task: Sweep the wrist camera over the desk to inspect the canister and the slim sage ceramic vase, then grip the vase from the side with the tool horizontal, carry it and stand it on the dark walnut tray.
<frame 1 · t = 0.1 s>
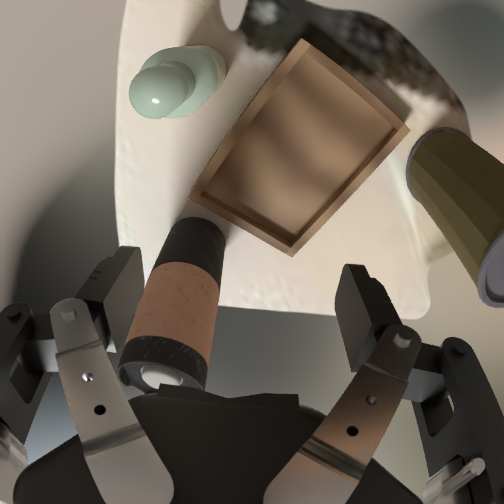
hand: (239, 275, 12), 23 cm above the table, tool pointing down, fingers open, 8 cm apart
walnut tray: (296, 153, 32), on the table
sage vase: (199, 69, 27), on the table
travel mug: (197, 240, 40), on the table
canister: (443, 168, 32), on the table
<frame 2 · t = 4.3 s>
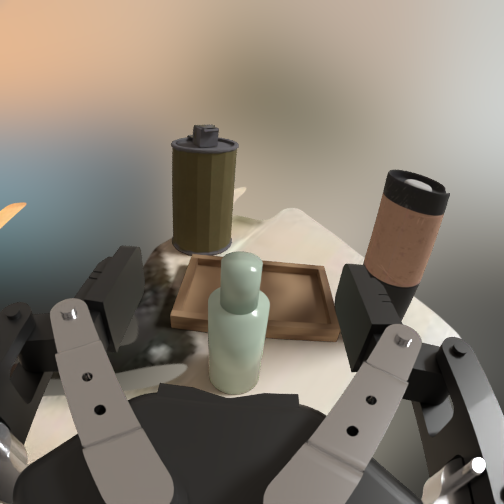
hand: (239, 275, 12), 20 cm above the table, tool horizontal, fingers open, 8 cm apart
walnut tray: (256, 300, 43), on the table
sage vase: (233, 374, 32), on the table
travel mug: (372, 322, 41), on the table
canister: (201, 241, 56), on the table
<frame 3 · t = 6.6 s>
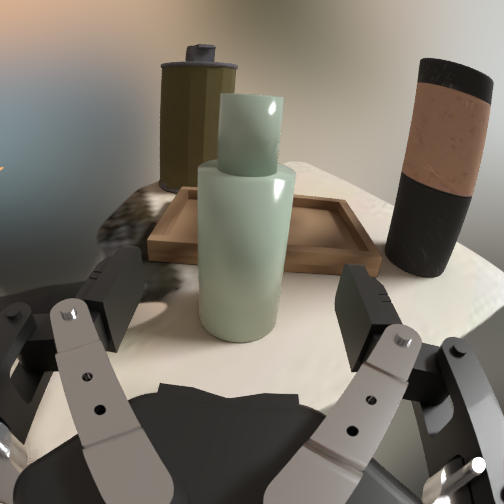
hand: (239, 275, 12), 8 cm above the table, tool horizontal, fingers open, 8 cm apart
walnut tray: (264, 232, 33), on the table
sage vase: (238, 315, 22), on the table
travel mug: (414, 260, 31), on the table
canister: (193, 183, 46), on the table
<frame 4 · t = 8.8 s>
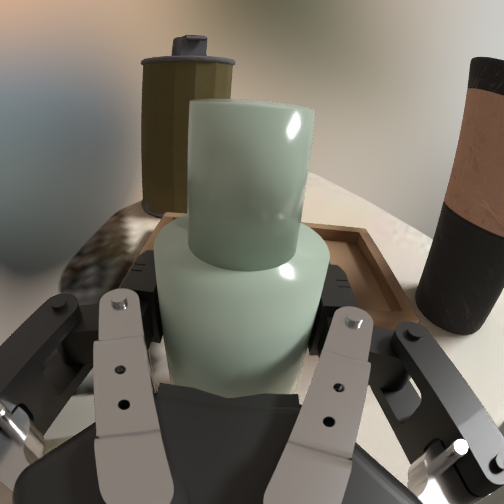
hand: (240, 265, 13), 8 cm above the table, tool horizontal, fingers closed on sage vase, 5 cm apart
walnut tray: (267, 277, 26), on the table
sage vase: (230, 418, 14), on the table, touching gripper
travel mug: (448, 309, 24), on the table
canister: (183, 203, 39), on the table
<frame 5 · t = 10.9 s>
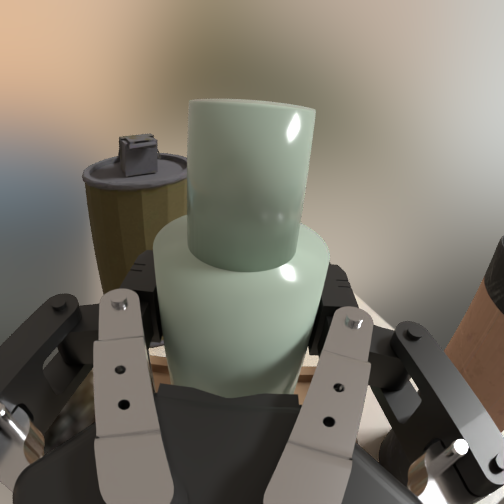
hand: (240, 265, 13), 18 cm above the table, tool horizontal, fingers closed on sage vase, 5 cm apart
walnut tray: (230, 440, 23), on the table
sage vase: (230, 419, 14), point 10 cm above the table, touching gripper
travel mug: (412, 458, 21), on the table
canister: (151, 315, 36), on the table
when the fingers open (10 cm above the table, at t = 13.2 s): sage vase drops 1 cm, resting on walnut tray.
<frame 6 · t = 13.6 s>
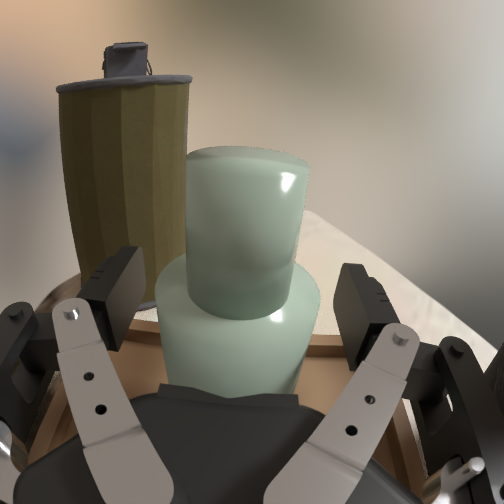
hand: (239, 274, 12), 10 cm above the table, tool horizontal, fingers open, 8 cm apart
walnut tray: (229, 437, 16), on the table
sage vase: (228, 433, 15), point 1 cm above the table, touching walnut tray
travel mug: (476, 454, 13), on the table
canister: (134, 276, 29), on the table
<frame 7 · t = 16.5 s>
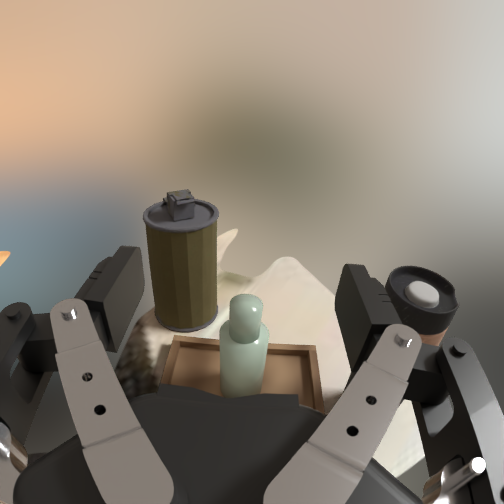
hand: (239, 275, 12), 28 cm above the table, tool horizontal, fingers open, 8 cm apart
walnut tray: (241, 390, 39), on the table
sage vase: (240, 387, 38), point 1 cm above the table, touching walnut tray
travel mug: (363, 410, 36), on the table
canister: (186, 310, 52), on the table
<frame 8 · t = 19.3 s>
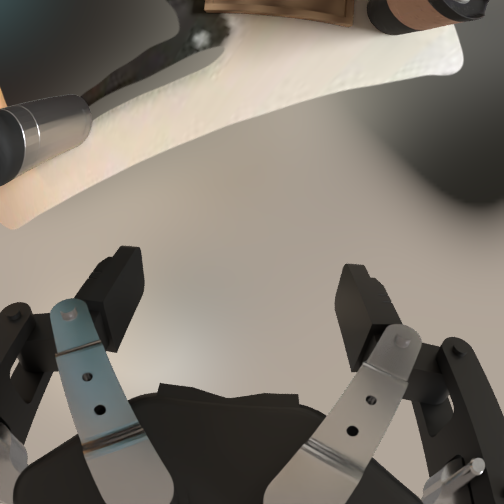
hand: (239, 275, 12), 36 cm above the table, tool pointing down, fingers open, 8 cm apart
travel mug: (388, 14, 33), on the table
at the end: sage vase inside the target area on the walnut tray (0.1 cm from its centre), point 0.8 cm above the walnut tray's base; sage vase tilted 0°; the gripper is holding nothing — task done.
